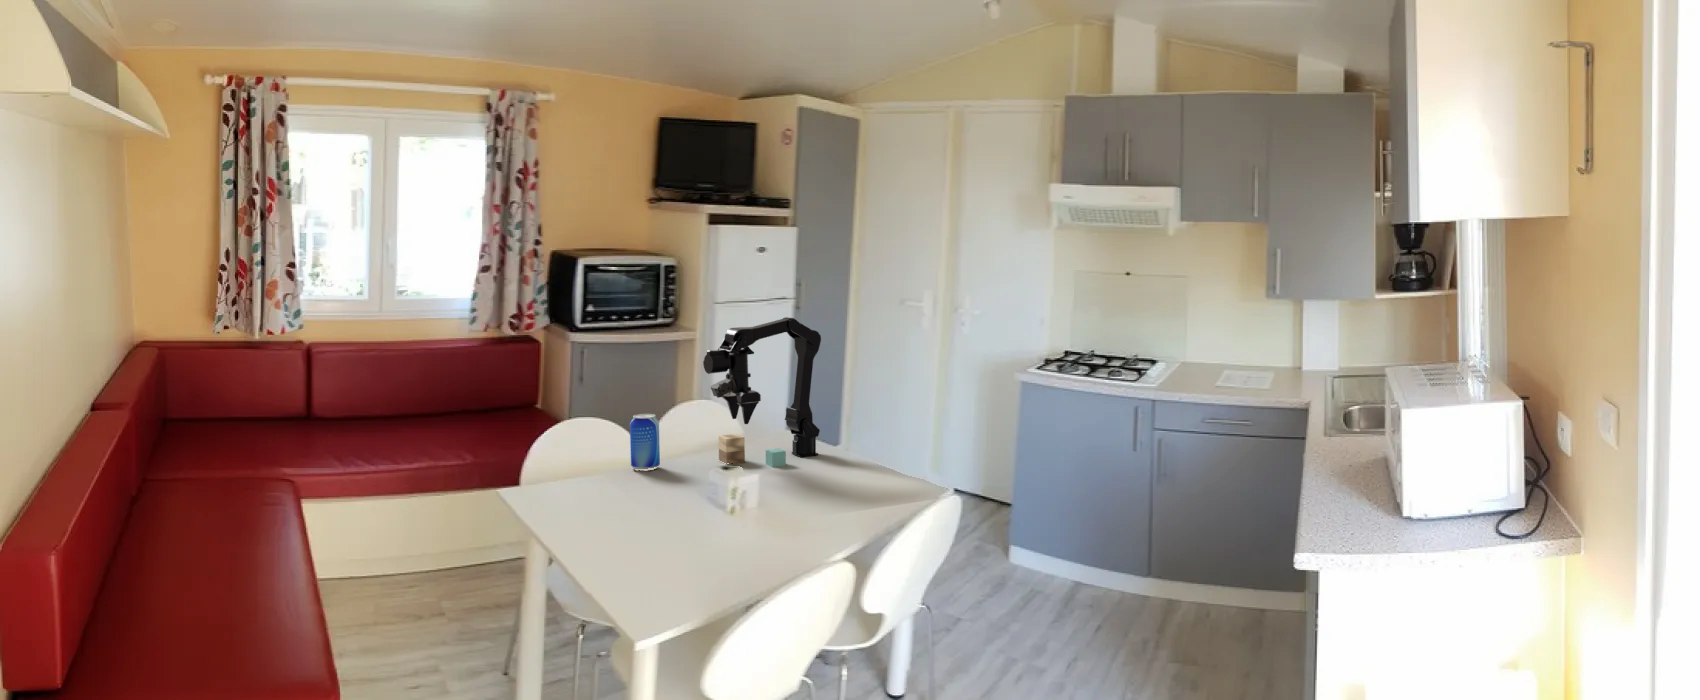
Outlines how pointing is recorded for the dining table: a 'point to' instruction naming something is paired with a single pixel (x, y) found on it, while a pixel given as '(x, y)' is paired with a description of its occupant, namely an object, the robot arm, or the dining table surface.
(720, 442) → the tower top
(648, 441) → the beer can
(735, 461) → the tower base
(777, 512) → the dining table surface
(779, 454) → the teal cube
